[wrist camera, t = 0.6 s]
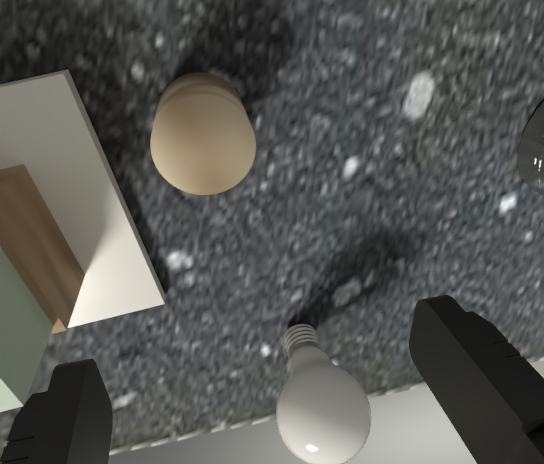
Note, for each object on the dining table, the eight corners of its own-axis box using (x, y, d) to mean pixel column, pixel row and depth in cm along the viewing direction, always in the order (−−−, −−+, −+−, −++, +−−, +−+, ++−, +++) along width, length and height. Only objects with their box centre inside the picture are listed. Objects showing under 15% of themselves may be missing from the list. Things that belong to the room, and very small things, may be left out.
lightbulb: (255, 309, 33) (281, 442, 24) (333, 293, 33) (388, 417, 24) (264, 362, 36) (290, 496, 27) (335, 347, 37) (384, 473, 28)
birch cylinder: (233, 63, 23) (244, 84, 19) (252, 147, 26) (264, 182, 22) (144, 83, 23) (134, 109, 19) (172, 166, 26) (169, 204, 21)
